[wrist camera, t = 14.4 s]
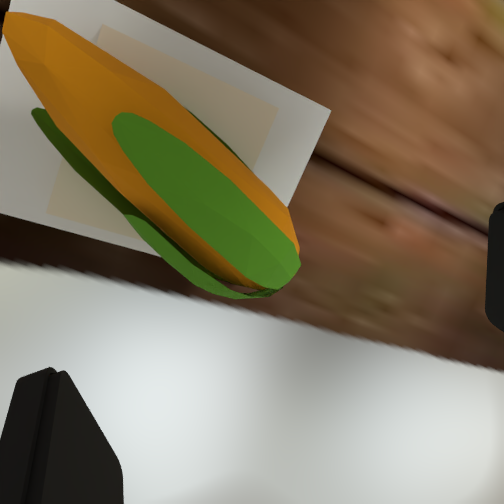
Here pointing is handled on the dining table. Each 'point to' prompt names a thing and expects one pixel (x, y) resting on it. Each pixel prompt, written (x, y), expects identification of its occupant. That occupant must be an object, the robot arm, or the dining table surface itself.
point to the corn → (155, 162)
